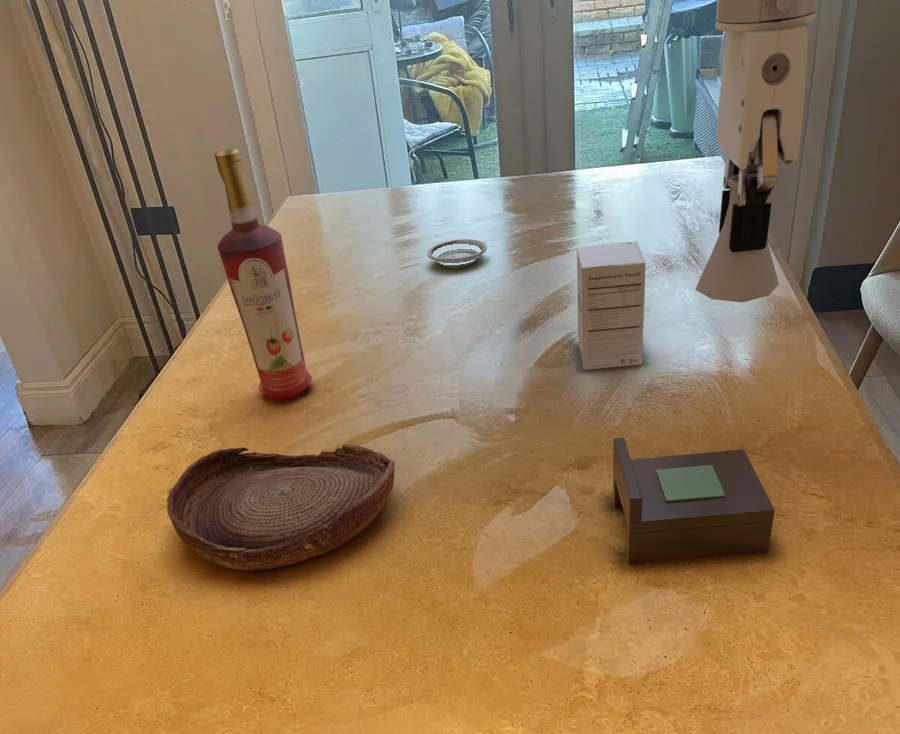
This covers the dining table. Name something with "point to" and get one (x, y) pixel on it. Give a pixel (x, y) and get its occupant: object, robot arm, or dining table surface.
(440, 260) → the saucer
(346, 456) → the basket
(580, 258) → the white packaging box
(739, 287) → the flask
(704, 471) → the brown toy bed
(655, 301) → the dining table surface
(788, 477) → the dining table surface
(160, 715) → the dining table surface
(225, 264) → the liquor
